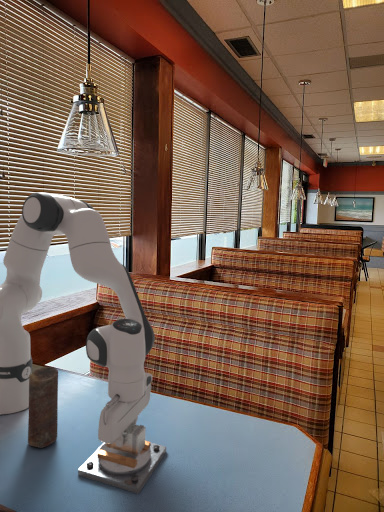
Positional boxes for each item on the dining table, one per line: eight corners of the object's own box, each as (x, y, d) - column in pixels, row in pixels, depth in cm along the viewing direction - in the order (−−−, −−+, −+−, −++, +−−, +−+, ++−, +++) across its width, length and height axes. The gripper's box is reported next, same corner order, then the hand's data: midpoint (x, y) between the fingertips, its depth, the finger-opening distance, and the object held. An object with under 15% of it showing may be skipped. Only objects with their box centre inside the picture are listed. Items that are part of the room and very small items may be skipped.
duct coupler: (137, 455, 92) (138, 435, 91) (104, 446, 95) (105, 427, 94) (145, 445, 96) (145, 426, 95) (113, 437, 99) (114, 418, 98)
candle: (63, 438, 105) (63, 369, 102) (45, 454, 98) (44, 380, 95) (41, 432, 107) (40, 364, 104) (21, 447, 100) (20, 374, 98)
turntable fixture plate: (78, 475, 91) (78, 458, 90) (112, 437, 106) (113, 423, 105) (138, 493, 86) (138, 476, 85) (166, 451, 101) (166, 437, 100)
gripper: (116, 409, 82) (115, 468, 84) (155, 372, 102) (153, 420, 103) (91, 404, 84) (90, 461, 86) (134, 368, 104) (133, 415, 105)
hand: (125, 439), depth 95 cm, fingers closed on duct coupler, 4 cm apart
